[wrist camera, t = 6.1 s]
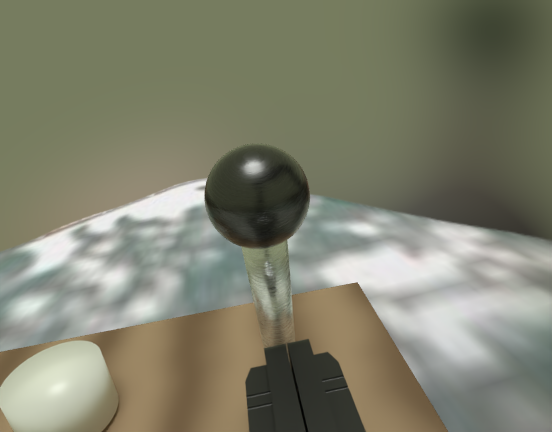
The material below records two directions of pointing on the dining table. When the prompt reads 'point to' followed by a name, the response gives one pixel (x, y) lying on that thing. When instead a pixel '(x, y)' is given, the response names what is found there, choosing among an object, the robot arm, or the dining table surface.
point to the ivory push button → (60, 391)
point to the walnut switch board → (247, 366)
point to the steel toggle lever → (261, 226)
